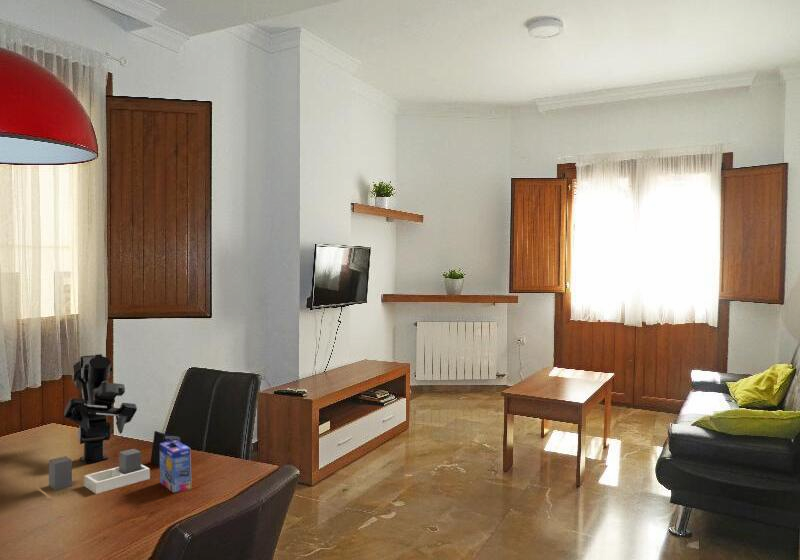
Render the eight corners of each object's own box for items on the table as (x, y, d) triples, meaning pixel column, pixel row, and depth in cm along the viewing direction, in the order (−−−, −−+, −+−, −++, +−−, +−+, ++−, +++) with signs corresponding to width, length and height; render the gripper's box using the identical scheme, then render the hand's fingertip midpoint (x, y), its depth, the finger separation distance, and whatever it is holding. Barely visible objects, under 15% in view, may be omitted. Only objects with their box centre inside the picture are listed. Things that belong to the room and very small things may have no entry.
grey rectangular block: (49, 487, 167) (48, 459, 167) (65, 483, 170) (65, 456, 170) (54, 492, 164) (54, 463, 164) (71, 487, 167) (71, 459, 167)
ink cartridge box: (158, 484, 171) (158, 435, 170) (176, 479, 175) (177, 431, 174) (172, 494, 164) (173, 443, 163) (191, 489, 168) (192, 439, 167)
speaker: (154, 468, 183) (157, 434, 183) (150, 464, 187) (153, 431, 188) (179, 466, 187) (182, 433, 187) (174, 462, 192) (177, 429, 192)
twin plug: (119, 478, 173) (119, 452, 173) (133, 474, 176) (133, 448, 176) (125, 482, 170) (126, 455, 170) (140, 478, 174) (141, 451, 173)
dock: (84, 487, 167) (84, 475, 167) (137, 473, 179) (137, 462, 179) (96, 495, 162) (96, 482, 162) (149, 480, 174) (149, 468, 174)
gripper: (76, 369, 171) (81, 408, 160) (140, 377, 184) (148, 414, 173) (61, 397, 174) (65, 437, 164) (125, 403, 187) (133, 440, 176)
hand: (104, 431), depth 169 cm, fingers open, 9 cm apart
